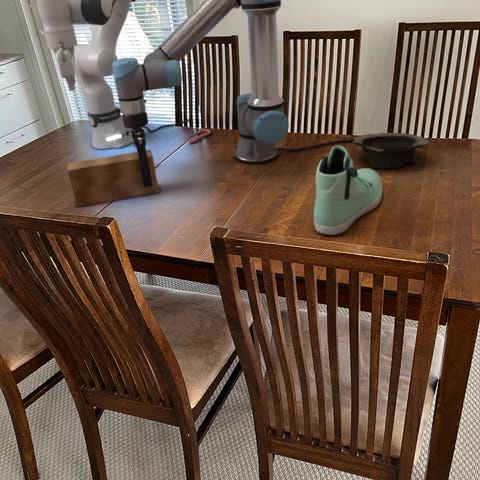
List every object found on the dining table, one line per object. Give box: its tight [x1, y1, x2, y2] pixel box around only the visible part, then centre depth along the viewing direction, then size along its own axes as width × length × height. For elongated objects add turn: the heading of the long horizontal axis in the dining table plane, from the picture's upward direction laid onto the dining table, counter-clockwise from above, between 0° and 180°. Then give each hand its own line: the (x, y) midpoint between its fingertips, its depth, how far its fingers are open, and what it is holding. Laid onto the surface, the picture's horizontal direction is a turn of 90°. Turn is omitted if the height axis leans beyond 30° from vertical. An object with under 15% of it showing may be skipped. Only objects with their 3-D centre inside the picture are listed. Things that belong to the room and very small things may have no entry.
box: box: [66, 149, 160, 208], centre depth 154 cm, size 26×6×13 cm, turn 105°
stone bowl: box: [352, 132, 430, 170], centre depth 165 cm, size 25×25×9 cm
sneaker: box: [313, 145, 383, 236], centre depth 133 cm, size 14×35×20 cm, turn 152°
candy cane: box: [188, 128, 212, 145], centre depth 200 cm, size 6×15×2 cm, turn 145°
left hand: (72, 86), depth 154 cm, fingers open, 8 cm apart
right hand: (147, 181), depth 158 cm, fingers closed on box, 6 cm apart
